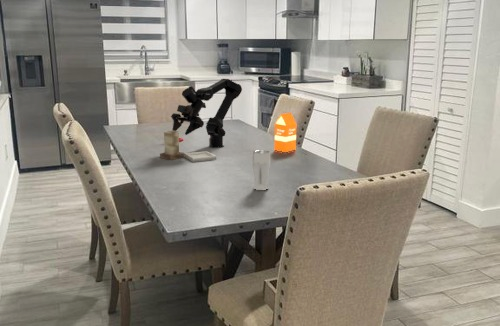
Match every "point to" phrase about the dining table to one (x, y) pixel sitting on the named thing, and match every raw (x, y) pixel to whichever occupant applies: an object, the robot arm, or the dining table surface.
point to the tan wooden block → (171, 142)
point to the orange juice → (285, 133)
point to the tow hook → (179, 138)
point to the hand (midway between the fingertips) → (179, 133)
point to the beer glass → (261, 169)
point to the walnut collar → (171, 156)
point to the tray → (200, 156)
